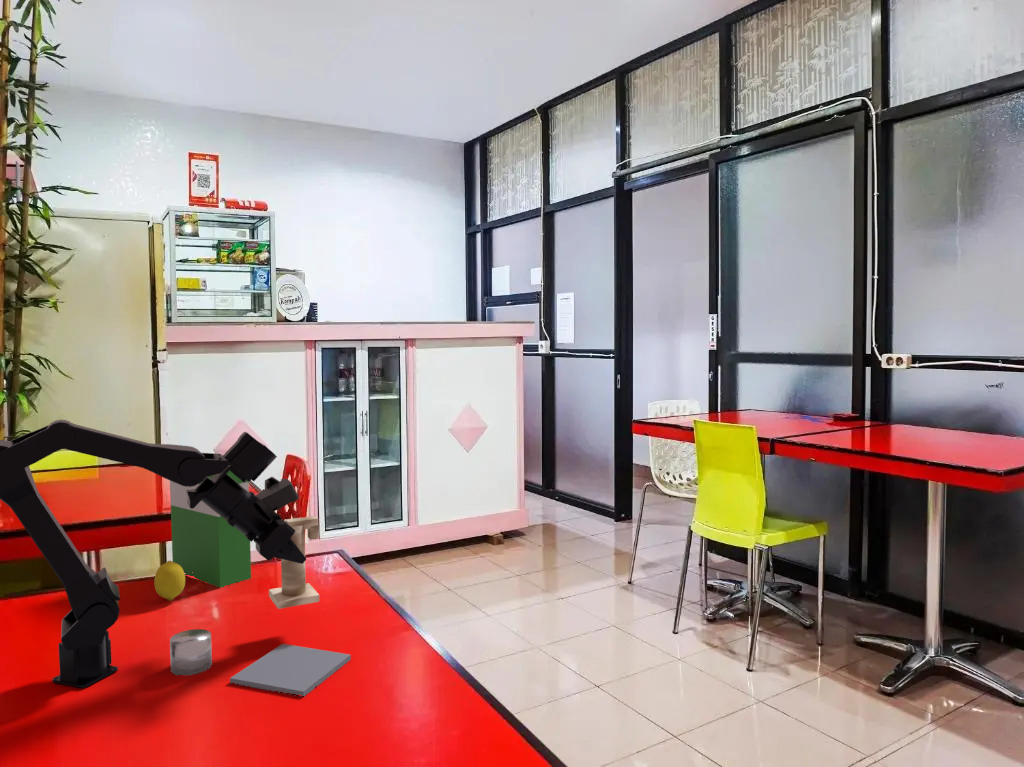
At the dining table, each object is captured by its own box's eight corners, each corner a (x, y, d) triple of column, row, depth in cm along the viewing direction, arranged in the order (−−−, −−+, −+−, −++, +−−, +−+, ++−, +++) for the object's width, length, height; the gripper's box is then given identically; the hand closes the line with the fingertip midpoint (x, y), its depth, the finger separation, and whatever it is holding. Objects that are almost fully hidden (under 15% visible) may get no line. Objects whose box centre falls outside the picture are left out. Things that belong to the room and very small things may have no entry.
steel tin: (193, 678, 115) (192, 647, 114) (162, 672, 117) (161, 641, 116) (220, 662, 120) (219, 632, 120) (190, 656, 122) (189, 627, 122)
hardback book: (173, 572, 165) (169, 464, 163) (203, 563, 171) (200, 459, 169) (220, 588, 154) (216, 473, 153) (251, 578, 160) (248, 467, 159)
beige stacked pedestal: (278, 609, 126) (276, 527, 125) (269, 596, 132) (267, 518, 131) (323, 600, 130) (322, 521, 129) (312, 588, 136) (311, 512, 135)
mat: (303, 696, 109) (303, 691, 109) (230, 683, 113) (230, 678, 113) (350, 659, 121) (350, 654, 121) (282, 648, 125) (282, 643, 125)
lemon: (191, 596, 150) (189, 556, 149) (176, 606, 144) (174, 565, 144) (165, 595, 150) (163, 556, 150) (149, 605, 145) (147, 564, 144)
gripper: (280, 475, 119) (349, 534, 125) (256, 457, 135) (318, 510, 141) (229, 530, 116) (302, 588, 122) (211, 505, 132) (276, 557, 138)
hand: (301, 557), depth 131 cm, fingers closed on beige stacked pedestal, 4 cm apart
